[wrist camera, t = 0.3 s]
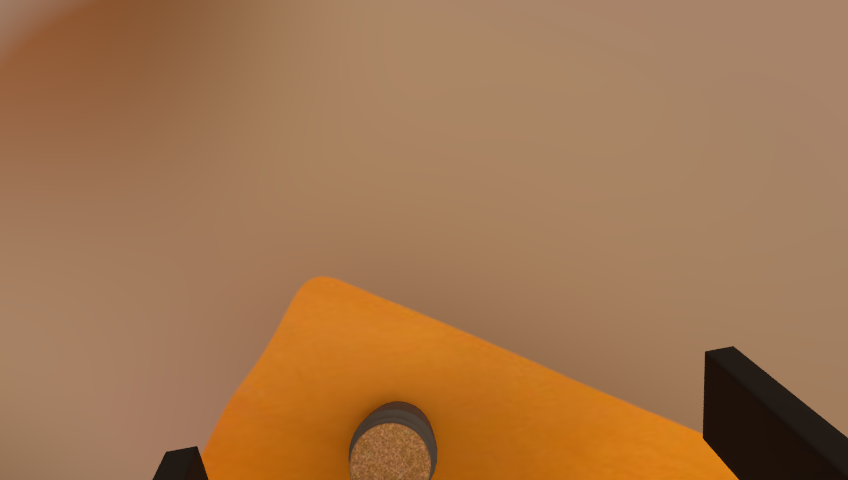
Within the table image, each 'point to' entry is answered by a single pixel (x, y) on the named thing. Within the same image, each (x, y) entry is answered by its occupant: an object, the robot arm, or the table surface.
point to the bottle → (393, 445)
